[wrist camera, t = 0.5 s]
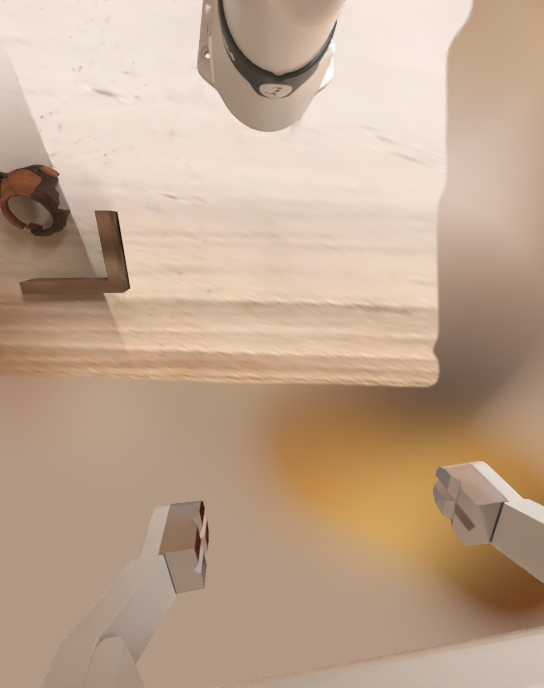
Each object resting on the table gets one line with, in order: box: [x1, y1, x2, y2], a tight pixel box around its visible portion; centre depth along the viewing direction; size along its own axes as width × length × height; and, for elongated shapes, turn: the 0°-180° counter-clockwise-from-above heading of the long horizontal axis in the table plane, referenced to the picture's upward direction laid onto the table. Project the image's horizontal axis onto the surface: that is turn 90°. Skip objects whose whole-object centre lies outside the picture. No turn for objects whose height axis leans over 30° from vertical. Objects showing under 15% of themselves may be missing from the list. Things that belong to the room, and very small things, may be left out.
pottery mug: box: [0, 165, 70, 236], centre depth 47 cm, size 12×9×8 cm
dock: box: [19, 211, 130, 294], centre depth 51 cm, size 13×16×4 cm
